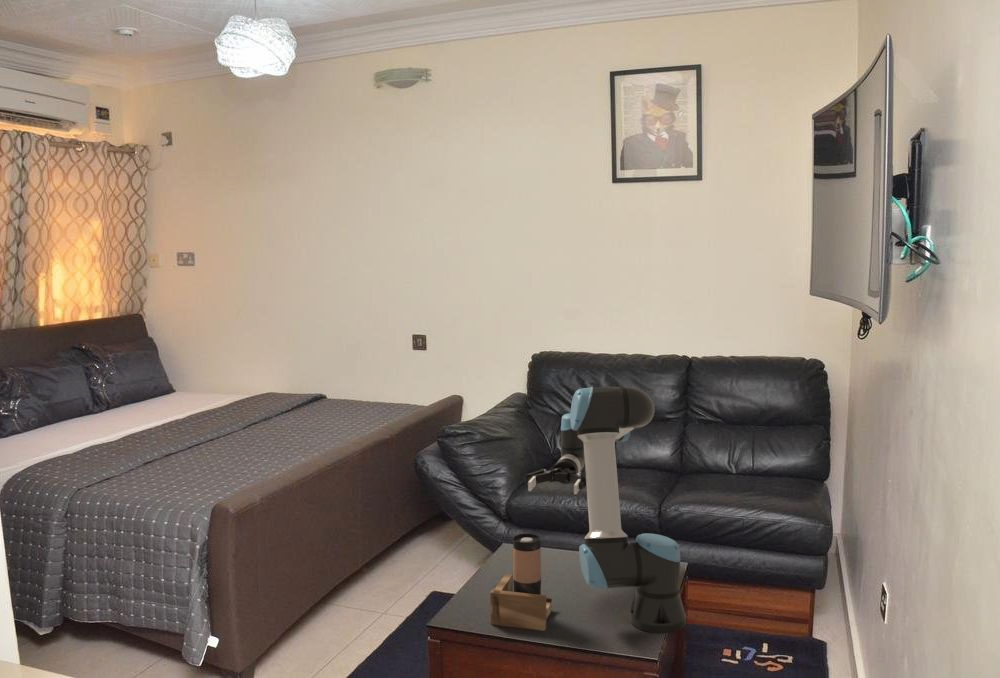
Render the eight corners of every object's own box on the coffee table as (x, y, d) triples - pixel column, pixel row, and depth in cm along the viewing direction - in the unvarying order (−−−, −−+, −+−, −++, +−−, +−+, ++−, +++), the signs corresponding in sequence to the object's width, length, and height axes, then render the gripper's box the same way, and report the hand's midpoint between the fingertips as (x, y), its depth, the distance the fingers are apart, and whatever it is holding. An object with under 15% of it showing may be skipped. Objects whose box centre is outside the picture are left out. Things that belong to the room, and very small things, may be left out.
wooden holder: (504, 603, 239) (504, 573, 238) (555, 608, 235) (555, 578, 234) (490, 624, 226) (490, 592, 225) (544, 630, 222) (544, 598, 221)
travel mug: (546, 606, 231) (545, 536, 229) (532, 616, 225) (531, 544, 223) (522, 600, 235) (521, 531, 233) (508, 610, 229) (507, 539, 227)
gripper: (606, 483, 259) (594, 503, 239) (528, 478, 266) (510, 497, 246) (606, 460, 258) (594, 478, 238) (528, 455, 265) (510, 472, 245)
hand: (552, 488), depth 242 cm, fingers open, 13 cm apart
